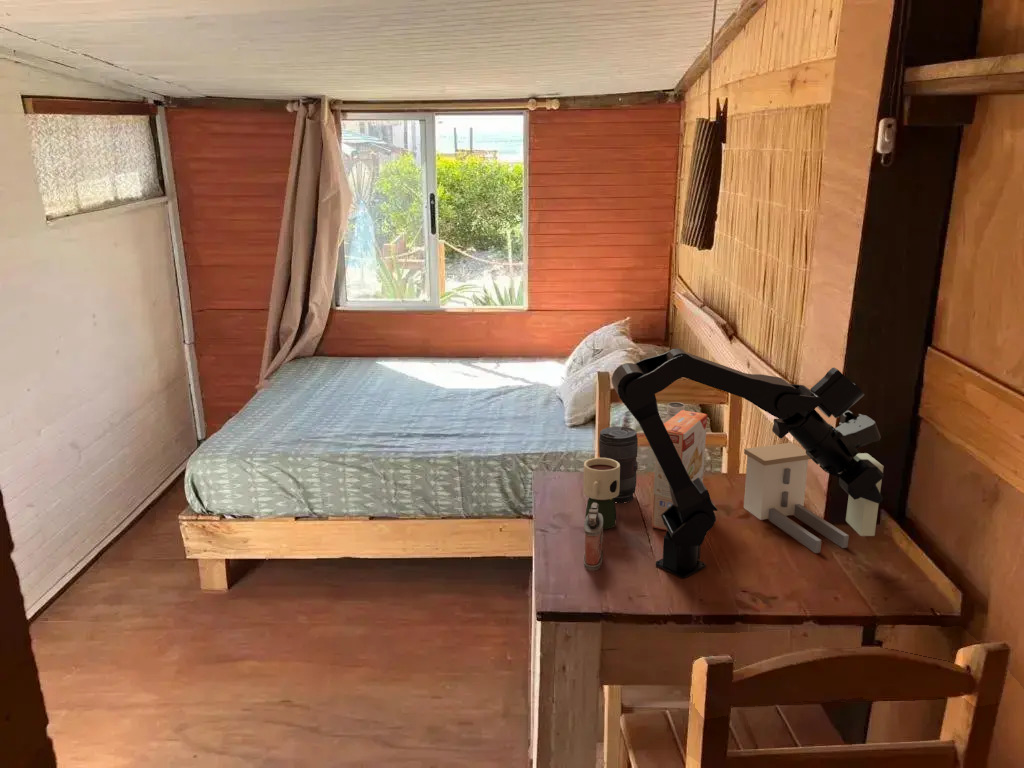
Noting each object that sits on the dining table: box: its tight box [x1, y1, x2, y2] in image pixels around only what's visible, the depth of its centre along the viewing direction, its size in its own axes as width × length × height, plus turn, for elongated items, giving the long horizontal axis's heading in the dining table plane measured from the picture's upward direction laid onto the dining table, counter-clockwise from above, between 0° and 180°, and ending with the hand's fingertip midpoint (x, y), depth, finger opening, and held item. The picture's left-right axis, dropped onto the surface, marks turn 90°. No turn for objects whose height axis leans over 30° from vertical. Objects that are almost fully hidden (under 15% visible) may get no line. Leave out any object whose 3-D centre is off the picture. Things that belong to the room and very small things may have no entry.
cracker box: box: [651, 409, 708, 531], centre depth 154 cm, size 14×6×21 cm, turn 148°
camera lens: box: [598, 425, 639, 504], centre depth 165 cm, size 8×8×15 cm
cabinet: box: [743, 442, 850, 554], centre depth 151 cm, size 11×22×13 cm, turn 17°
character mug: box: [582, 457, 620, 530], centre depth 153 cm, size 11×7×13 cm, turn 161°
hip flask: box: [583, 503, 604, 571], centre depth 140 cm, size 8×3×10 cm, turn 170°
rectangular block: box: [845, 452, 885, 537], centre depth 136 cm, size 2×6×13 cm, turn 1°
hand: (871, 493), depth 136 cm, fingers closed on rectangular block, 6 cm apart
